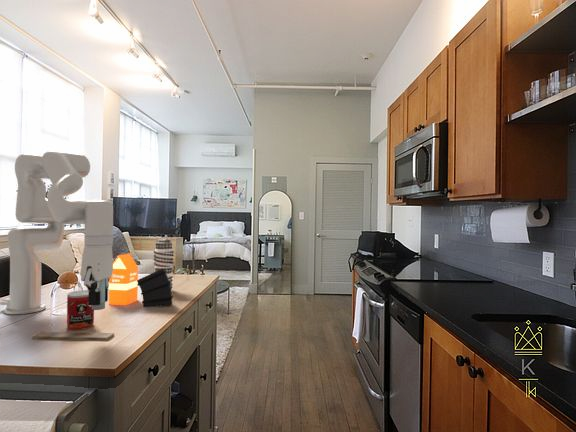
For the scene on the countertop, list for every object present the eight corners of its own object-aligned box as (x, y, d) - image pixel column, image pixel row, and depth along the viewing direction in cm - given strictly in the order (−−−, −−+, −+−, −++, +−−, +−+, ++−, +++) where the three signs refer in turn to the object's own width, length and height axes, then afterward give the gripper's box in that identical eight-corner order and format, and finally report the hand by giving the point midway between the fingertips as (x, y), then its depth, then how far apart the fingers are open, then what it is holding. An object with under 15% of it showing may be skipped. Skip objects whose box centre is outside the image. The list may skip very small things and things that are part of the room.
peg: (89, 310, 105) (89, 275, 105) (95, 307, 108) (96, 273, 108) (101, 310, 105) (101, 276, 105) (107, 307, 108) (107, 274, 108)
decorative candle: (169, 293, 167) (170, 240, 167) (149, 293, 167) (150, 239, 167) (175, 289, 176) (176, 238, 176) (157, 289, 176) (158, 238, 176)
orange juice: (137, 300, 154) (138, 253, 154) (126, 305, 145) (127, 255, 145) (120, 299, 155) (121, 253, 154) (108, 304, 146) (109, 255, 146)
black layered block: (179, 302, 145) (163, 268, 143) (148, 317, 143) (131, 283, 141) (180, 299, 148) (164, 267, 147) (149, 314, 146) (133, 281, 145)
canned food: (67, 331, 112) (67, 296, 112) (66, 324, 118) (67, 291, 118) (94, 328, 116) (95, 294, 116) (92, 321, 123) (93, 289, 122)
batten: (32, 339, 105) (32, 336, 105) (41, 334, 109) (41, 331, 109) (107, 340, 105) (107, 337, 105) (114, 335, 109) (114, 333, 109)
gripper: (100, 239, 115) (100, 296, 115) (69, 243, 98) (68, 310, 98) (124, 240, 115) (123, 297, 115) (96, 243, 98) (95, 310, 98)
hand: (98, 302), depth 107 cm, fingers closed on peg, 3 cm apart
